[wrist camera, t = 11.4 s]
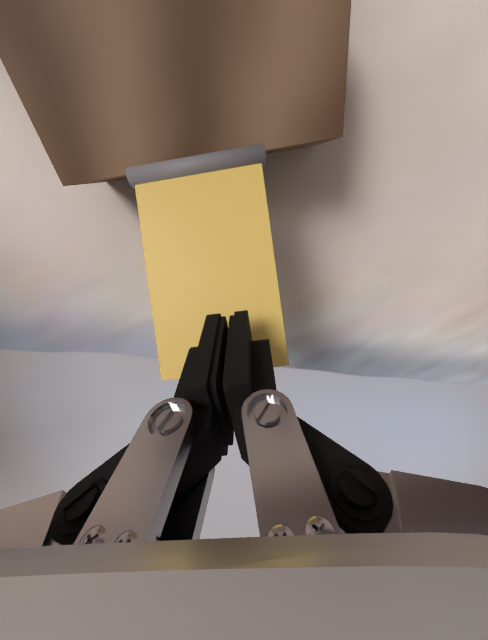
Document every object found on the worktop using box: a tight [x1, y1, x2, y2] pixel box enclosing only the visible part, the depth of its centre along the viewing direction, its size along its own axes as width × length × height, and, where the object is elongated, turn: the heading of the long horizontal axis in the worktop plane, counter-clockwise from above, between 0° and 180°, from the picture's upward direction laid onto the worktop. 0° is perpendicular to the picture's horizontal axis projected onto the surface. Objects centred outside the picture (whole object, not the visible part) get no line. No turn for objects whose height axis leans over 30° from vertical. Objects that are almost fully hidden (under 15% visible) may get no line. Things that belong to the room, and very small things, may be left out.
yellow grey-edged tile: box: [126, 143, 289, 381], centre depth 11 cm, size 6×10×1 cm, turn 8°
